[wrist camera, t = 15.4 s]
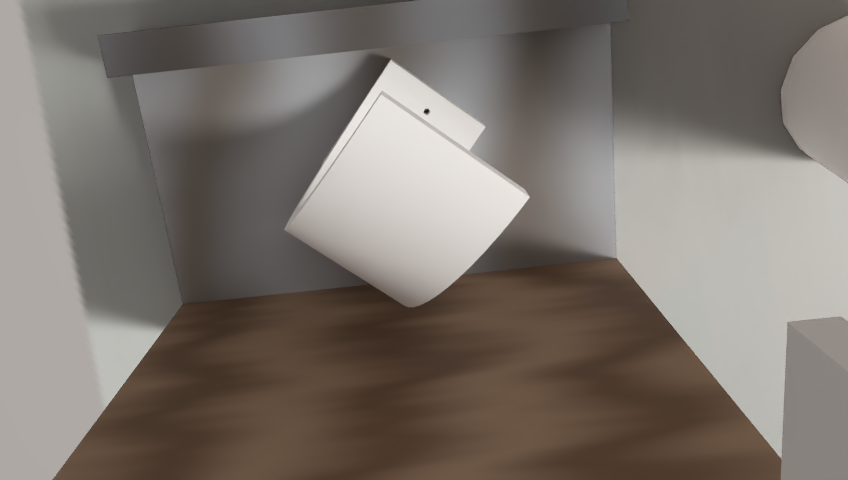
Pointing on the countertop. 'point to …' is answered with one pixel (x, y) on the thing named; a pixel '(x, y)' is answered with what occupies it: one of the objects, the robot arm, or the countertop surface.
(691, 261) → the countertop surface
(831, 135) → the foam cup
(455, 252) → the white curved saddle bracket
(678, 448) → the board
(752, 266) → the countertop surface
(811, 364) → the robot arm
